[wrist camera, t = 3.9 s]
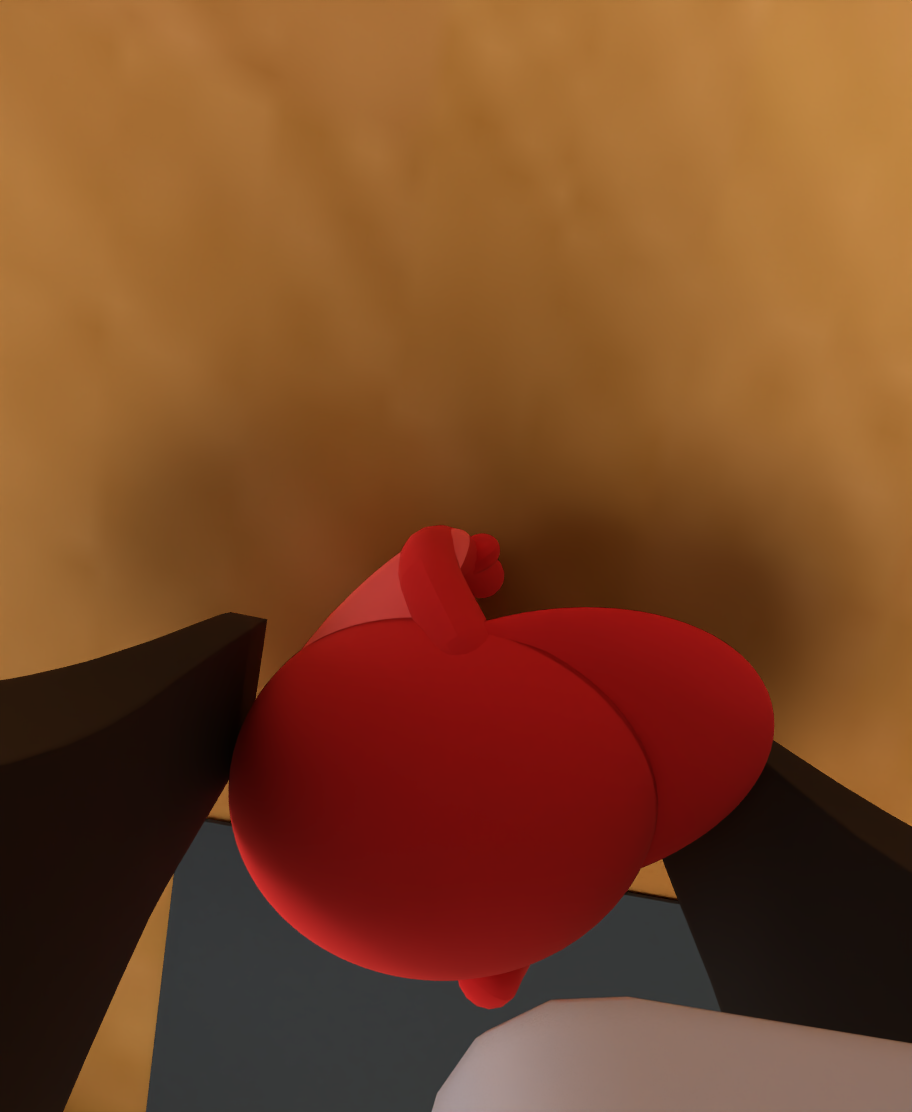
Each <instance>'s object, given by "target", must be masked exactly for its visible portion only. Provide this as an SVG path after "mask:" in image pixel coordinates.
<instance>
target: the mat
mask: <svg viewBox="0 0 912 1112" xmlns="http://www.w3.org/2000/svg"><path fill="white" fill-rule="evenodd" d="M605 997H632V998H638V999H644V1000H650V1001H657V1002H663V1003H669V1004H675V1005H681V1006H687V1007H693V1008H699V1009H705V1010H711V1011H717V1012H721V1010H720V1007H719V1004H718V1002H717V999H716V996H715V993H714V990H713V987H712V984H711V982H710V979H709V976H708V974H707V971H706V969H705V966H704V964H703V961H702V959H701V956H700V954H699V951H698V949H697V946H696V944H695V941H694V939H693V936H692V934H691V931H690V929H689V926H688V924H687V921H686V919H685V916H684V914H683V911H682V909H681V906H680V904H679V901H675V900H669V899H663V898H658V897H652V896H646V895H640V894H635V893H629V892H626V893H625V894H624V895H623V897H622V898H621V899H620V901H619V902H618V903H617V904H616V906H615V907H614V908H613V909H612V910H611V911H610V912H609V913H608V914H607V915H606V916H605V917H604V918H603V919H602V920H601V921H600V922H599V923H598V924H597V925H596V926H594V927H593V928H592V929H591V930H589V931H588V932H587V933H586V934H584V935H583V936H582V937H580V938H579V939H578V940H576V941H575V942H573V943H572V944H570V945H568V946H567V947H565V948H564V949H562V950H560V951H558V952H556V953H555V954H553V955H551V956H549V957H547V958H545V959H543V960H540V961H538V962H535V963H533V964H530V966H529V968H528V970H527V972H526V974H525V976H524V978H523V979H522V981H521V983H520V986H519V988H518V990H517V992H516V995H515V996H514V998H513V999H511V1000H510V1001H509V1002H508V1003H506V1004H505V1005H504V1006H502V1007H499V1008H494V1009H486V1008H483V1007H479V1006H476V1005H475V1004H474V1003H472V1002H471V1001H470V1000H469V999H467V998H466V996H465V995H464V993H463V991H462V990H461V988H460V986H459V982H458V980H456V981H431V980H418V979H409V978H403V977H397V976H392V975H388V974H384V973H380V972H376V971H373V970H370V969H367V968H364V967H361V966H358V965H356V964H353V963H351V962H348V961H346V960H344V959H342V958H340V957H338V956H336V955H334V954H332V953H330V952H328V951H326V950H325V949H323V948H321V947H320V946H318V945H316V944H315V943H313V942H312V941H310V940H309V939H308V938H306V937H305V936H303V935H302V934H301V933H300V932H298V931H297V930H296V929H295V928H293V927H292V926H291V925H290V924H289V923H288V922H287V921H286V920H285V919H284V918H283V917H282V916H281V915H280V914H279V913H278V912H277V911H276V910H275V909H274V908H273V907H272V905H271V904H270V903H269V902H268V901H267V899H266V898H265V897H264V896H263V894H262V893H261V891H260V890H259V888H258V887H257V885H256V884H255V882H254V881H253V879H252V877H251V875H250V874H249V872H248V870H247V868H246V866H245V864H244V861H243V859H242V857H241V854H240V852H239V849H238V846H237V843H236V840H235V836H234V833H233V828H232V823H228V822H222V821H217V820H211V819H206V820H205V821H204V823H203V825H202V826H201V828H200V830H199V832H198V833H197V835H196V837H195V838H194V840H193V842H192V843H191V845H190V847H189V848H188V850H187V852H186V854H185V855H184V857H183V859H182V860H181V862H180V864H179V865H178V867H177V869H176V870H175V872H174V878H173V887H172V895H171V904H170V912H169V921H168V929H167V938H166V946H165V955H164V963H163V972H162V980H161V989H160V997H159V1006H158V1014H157V1023H156V1031H155V1040H154V1049H153V1057H152V1066H151V1074H150V1083H149V1091H148V1100H147V1108H146V1112H432V1109H433V1106H434V1102H435V1099H436V1095H437V1093H438V1091H439V1090H440V1088H441V1087H442V1086H443V1084H444V1083H445V1081H446V1080H447V1078H448V1077H449V1076H450V1074H451V1073H452V1071H453V1070H454V1068H455V1067H456V1066H457V1064H458V1063H459V1061H460V1060H461V1058H462V1057H463V1056H464V1054H465V1053H466V1051H467V1050H468V1048H469V1047H470V1046H471V1044H472V1043H473V1041H474V1040H475V1038H477V1037H478V1036H480V1035H481V1034H483V1033H484V1032H486V1031H487V1030H489V1029H492V1028H494V1027H496V1026H498V1025H500V1024H502V1023H504V1022H506V1021H508V1020H510V1019H512V1018H514V1017H516V1016H518V1015H520V1014H523V1013H525V1012H527V1011H529V1010H531V1009H533V1008H535V1007H537V1006H539V1005H541V1004H543V1003H545V1002H547V1001H549V1000H557V999H581V998H605Z"/></svg>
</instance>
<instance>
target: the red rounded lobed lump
mask: <svg viewBox="0 0 912 1112" xmlns="http://www.w3.org/2000/svg"><path fill="white" fill-rule="evenodd" d="M499 554H500V546H499V543H498V541H497V540H496V539H495V538H494V537H493V536H491V535H489V534H485V533H480V534H476V535H473V536H470V535H468V533H467V532H465V531H464V530H461V529H455V528H452V527H449V526H444V525H436V526H429V527H424V528H422V529H420V530H419V531H417V532H416V533H414V534H413V535H411V536H410V537H409V539H408V540H407V542H406V543H405V545H404V546H403V548H402V551H401V552H400V553H398V554H397V555H396V556H394V557H393V558H392V559H390V560H389V561H388V562H386V563H385V564H384V565H383V566H381V567H380V568H379V569H378V570H377V571H375V572H374V573H373V574H372V575H371V576H370V577H369V578H367V579H366V580H365V581H364V582H363V583H362V584H361V585H360V586H359V587H358V588H357V589H356V590H354V591H353V592H352V593H351V594H350V595H349V596H348V597H347V598H346V599H345V600H344V601H343V602H342V603H341V604H340V605H339V607H337V608H336V609H335V610H334V611H333V612H332V613H331V614H330V615H329V616H328V618H327V619H326V620H325V621H324V623H323V624H322V625H321V626H320V627H319V629H318V630H317V631H316V632H315V633H314V634H313V636H312V637H311V638H310V639H309V641H308V642H307V643H306V644H305V646H304V647H303V648H302V649H301V650H300V651H299V652H298V653H297V654H295V655H294V656H293V657H292V658H291V659H290V660H288V661H287V662H286V663H285V664H284V665H283V666H282V667H281V668H280V669H279V670H278V671H277V672H276V674H275V675H274V676H273V677H272V678H271V679H270V681H269V682H268V683H267V684H266V686H265V687H264V688H263V690H262V691H261V693H260V694H259V695H258V697H257V698H256V700H255V701H254V703H253V705H252V707H251V709H250V710H249V712H248V714H247V716H246V718H245V720H244V723H243V725H242V727H241V730H240V732H239V735H238V738H237V741H236V744H235V748H234V751H233V756H232V761H231V766H230V775H229V810H230V818H231V823H232V828H233V833H234V836H235V840H236V843H237V846H238V849H239V852H240V854H241V857H242V859H243V861H244V864H245V866H246V868H247V870H248V872H249V874H250V875H251V877H252V879H253V881H254V882H255V884H256V885H257V887H258V888H259V890H260V891H261V893H262V894H263V896H264V897H265V898H266V899H267V901H268V902H269V903H270V904H271V905H272V907H273V908H274V909H275V910H276V911H277V912H278V913H279V914H280V915H281V916H282V917H283V918H284V919H285V920H286V921H287V922H288V923H289V924H290V925H291V926H292V927H293V928H295V929H296V930H297V931H298V932H300V933H301V934H302V935H303V936H305V937H306V938H308V939H309V940H310V941H312V942H313V943H315V944H316V945H318V946H320V947H321V948H323V949H325V950H326V951H328V952H330V953H332V954H334V955H336V956H338V957H340V958H342V959H344V960H346V961H348V962H351V963H353V964H356V965H358V966H361V967H364V968H367V969H370V970H373V971H376V972H380V973H384V974H388V975H392V976H397V977H403V978H409V979H418V980H431V981H456V980H458V982H459V986H460V988H461V990H462V991H463V993H464V995H465V996H466V998H467V999H469V1000H470V1001H471V1002H472V1003H474V1004H475V1005H476V1006H479V1007H483V1008H486V1009H494V1008H499V1007H502V1006H504V1005H505V1004H506V1003H508V1002H509V1001H510V1000H511V999H513V998H514V996H515V995H516V992H517V990H518V988H519V986H520V983H521V981H522V979H523V978H524V976H525V974H526V972H527V970H528V968H529V966H530V964H533V963H535V962H538V961H540V960H543V959H545V958H547V957H549V956H551V955H553V954H555V953H556V952H558V951H560V950H562V949H564V948H565V947H567V946H568V945H570V944H572V943H573V942H575V941H576V940H578V939H579V938H580V937H582V936H583V935H584V934H586V933H587V932H588V931H589V930H591V929H592V928H593V927H594V926H596V925H597V924H598V923H599V922H600V921H601V920H602V919H603V918H604V917H605V916H606V915H607V914H608V913H609V912H610V911H611V910H612V909H613V908H614V907H615V906H616V904H617V903H618V902H619V901H620V899H621V898H622V897H623V895H624V894H625V893H626V892H627V890H628V889H629V887H630V886H631V884H632V882H633V881H634V879H635V878H636V876H637V874H638V873H639V871H640V869H641V868H643V867H645V866H648V865H650V864H652V863H654V862H657V861H659V860H661V859H663V858H665V857H667V856H669V855H671V854H673V853H675V852H677V851H679V850H680V849H682V848H684V847H685V846H687V845H689V844H690V843H692V842H694V841H695V840H697V839H698V838H700V837H701V836H703V835H704V834H706V833H707V832H708V831H710V830H711V829H712V828H713V827H715V826H716V825H717V824H719V823H720V822H721V821H722V820H723V819H724V818H725V817H727V816H728V815H729V814H730V813H731V812H732V811H733V810H734V809H735V808H736V807H737V806H738V805H739V804H740V802H741V801H742V800H743V799H744V798H745V797H746V795H747V794H748V793H749V791H750V790H751V789H752V787H753V786H754V784H755V783H756V781H757V780H758V778H759V776H760V775H761V773H762V771H763V769H764V766H765V764H766V762H767V760H768V757H769V754H770V751H771V747H772V742H773V736H774V713H773V708H772V703H771V700H770V697H769V694H768V691H767V689H766V687H765V685H764V683H763V681H762V680H761V678H760V676H759V675H758V673H757V672H756V670H755V669H754V668H753V667H752V666H751V664H750V663H749V662H748V661H747V660H746V659H745V658H744V657H743V656H742V655H741V654H740V653H738V652H737V651H736V650H735V649H733V648H732V647H731V646H729V645H728V644H727V643H725V642H723V641H722V640H720V639H719V638H717V637H715V636H713V635H712V634H710V633H708V632H706V631H704V630H702V629H699V628H697V627H695V626H692V625H690V624H687V623H684V622H681V621H678V620H675V619H672V618H668V617H664V616H661V615H657V614H652V613H646V612H641V611H635V610H627V609H618V608H605V607H571V608H556V609H545V610H537V611H530V612H524V613H519V614H513V615H508V616H504V617H500V618H495V619H491V620H487V619H486V618H485V616H484V614H483V612H482V610H481V609H480V607H479V605H478V603H477V601H476V600H475V598H474V597H477V598H486V597H489V596H492V595H494V594H495V593H496V592H497V591H498V590H499V589H500V588H501V586H502V584H503V582H504V570H503V567H502V565H501V563H500V562H499V561H498V557H499Z"/></svg>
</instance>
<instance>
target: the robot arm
mask: <svg viewBox="0 0 912 1112" xmlns="http://www.w3.org/2000/svg"><path fill="white" fill-rule="evenodd" d="M266 624H267V619H263V618H258V617H252V616H247V615H242V614H237V613H232V612H229V613H225V614H221V615H218V616H215V617H212V618H210V619H207V620H204V621H202V622H199V623H196V624H194V625H191V626H189V627H186V628H183V629H181V630H178V631H175V632H173V633H170V634H168V635H165V636H162V637H160V638H157V639H154V640H152V641H149V642H146V643H143V644H140V645H137V646H134V647H131V648H128V649H124V650H121V651H118V652H115V653H112V654H109V655H106V656H103V657H100V658H97V659H93V660H90V661H86V662H83V663H79V664H75V665H71V666H67V667H64V668H59V669H55V670H50V671H46V672H41V673H37V674H32V675H28V676H23V677H18V678H12V679H6V680H0V1112H63V1111H64V1108H65V1106H66V1104H67V1101H68V1099H69V1097H70V1094H71V1092H72V1089H73V1087H74V1085H75V1082H76V1080H77V1078H78V1075H79V1073H80V1071H81V1068H82V1066H83V1064H84V1061H85V1059H86V1057H87V1054H88V1052H89V1050H90V1048H91V1045H92V1043H93V1041H94V1039H95V1036H96V1034H97V1032H98V1030H99V1027H100V1025H101V1023H102V1021H103V1018H104V1016H105V1014H106V1012H107V1009H108V1007H109V1005H110V1003H111V1000H112V998H113V996H114V994H115V991H116V989H117V987H118V985H119V982H120V980H121V978H122V976H123V974H124V971H125V969H126V967H127V965H128V963H129V961H130V958H131V956H132V954H133V952H134V950H135V948H136V945H137V943H138V941H139V939H140V937H141V935H142V932H143V930H144V928H145V926H146V924H147V922H148V919H149V917H150V915H151V913H152V912H153V910H154V908H155V906H156V904H157V902H158V900H159V898H160V897H161V895H162V893H163V891H164V889H165V887H166V886H167V884H168V882H169V881H170V879H171V877H172V875H173V874H174V872H175V870H176V869H177V867H178V865H179V864H180V862H181V860H182V859H183V857H184V855H185V854H186V852H187V850H188V848H189V847H190V845H191V843H192V842H193V840H194V838H195V837H196V835H197V833H198V832H199V830H200V828H201V826H202V825H203V823H204V821H205V820H206V818H207V816H208V815H209V813H210V811H211V810H212V808H213V806H214V804H215V803H216V801H217V799H218V797H219V796H220V794H221V792H222V791H223V789H224V787H225V785H226V784H227V782H228V780H229V775H230V766H231V761H232V756H233V751H234V748H235V744H236V741H237V738H238V735H239V732H240V730H241V727H242V725H243V723H244V720H245V718H246V716H247V714H248V712H249V710H250V709H251V707H252V705H253V703H254V701H255V699H256V692H257V686H258V679H259V672H260V665H261V658H262V651H263V645H264V638H265V631H266ZM663 862H664V865H665V868H666V870H667V873H668V875H669V878H670V881H671V883H672V886H673V888H674V891H675V893H676V896H677V899H678V901H679V904H680V906H681V909H682V911H683V914H684V916H685V919H686V921H687V924H688V926H689V929H690V931H691V934H692V936H693V939H694V941H695V944H696V946H697V949H698V951H699V954H700V956H701V959H702V961H703V964H704V966H705V969H706V971H707V974H708V976H709V979H710V982H711V984H712V987H713V990H714V993H715V996H716V999H717V1002H718V1004H719V1007H720V1010H721V1012H717V1011H711V1010H705V1009H699V1008H693V1007H687V1006H681V1005H675V1004H669V1003H663V1002H657V1001H650V1000H644V999H638V998H632V997H605V998H581V999H557V1000H549V1001H547V1002H545V1003H543V1004H541V1005H539V1006H537V1007H535V1008H533V1009H531V1010H529V1011H527V1012H525V1013H523V1014H520V1015H518V1016H516V1017H514V1018H512V1019H510V1020H508V1021H506V1022H504V1023H502V1024H500V1025H498V1026H496V1027H494V1028H492V1029H489V1030H487V1031H486V1032H484V1033H483V1034H481V1035H480V1036H478V1037H477V1038H475V1040H474V1041H473V1043H472V1044H471V1046H470V1047H469V1048H468V1050H467V1051H466V1053H465V1054H464V1056H463V1057H462V1058H461V1060H460V1061H459V1063H458V1064H457V1066H456V1067H455V1068H454V1070H453V1071H452V1073H451V1074H450V1076H449V1077H448V1078H447V1080H446V1081H445V1083H444V1084H443V1086H442V1087H441V1088H440V1090H439V1091H438V1093H437V1095H436V1099H435V1102H434V1106H433V1109H432V1112H912V826H910V825H908V824H906V823H905V822H903V821H901V820H899V819H897V818H896V817H894V816H892V815H890V814H889V813H887V812H885V811H884V810H882V809H880V808H879V807H877V806H875V805H874V804H872V803H870V802H869V801H867V800H866V799H864V798H862V797H861V796H859V795H857V794H856V793H854V792H852V791H851V790H849V789H847V788H846V787H844V786H843V785H841V784H840V783H838V782H836V781H835V780H833V779H832V778H830V777H829V776H827V775H825V774H824V773H822V772H821V771H819V770H818V769H816V768H815V767H813V766H812V765H810V764H809V763H807V762H806V761H804V760H802V759H801V758H799V757H798V756H796V755H795V754H793V753H792V752H790V751H789V750H787V749H786V748H784V747H783V746H781V745H780V744H778V743H777V742H775V741H774V740H773V742H772V747H771V751H770V754H769V757H768V760H767V762H766V764H765V766H764V769H763V771H762V773H761V775H760V776H759V778H758V780H757V781H756V783H755V784H754V786H753V787H752V789H751V790H750V791H749V793H748V794H747V795H746V797H745V798H744V799H743V800H742V801H741V802H740V804H739V805H738V806H737V807H736V808H735V809H734V810H733V811H732V812H731V813H730V814H729V815H728V816H727V817H725V818H724V819H723V820H722V821H721V822H720V823H719V824H717V825H716V826H715V827H713V828H712V829H711V830H710V831H708V832H707V833H706V834H704V835H703V836H701V837H700V838H698V839H697V840H695V841H694V842H692V843H690V844H689V845H687V846H685V847H684V848H682V849H680V850H679V851H677V852H675V853H673V854H671V855H669V856H667V857H665V858H663Z"/></svg>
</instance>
